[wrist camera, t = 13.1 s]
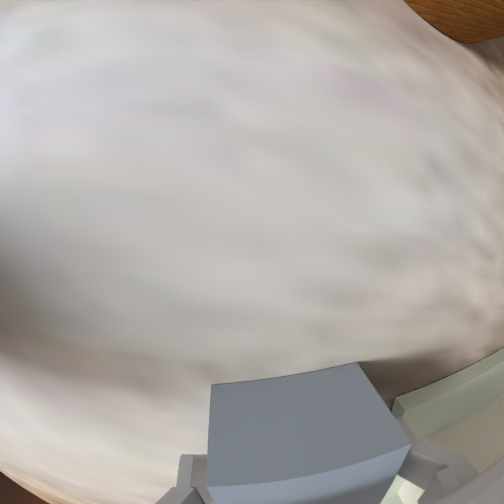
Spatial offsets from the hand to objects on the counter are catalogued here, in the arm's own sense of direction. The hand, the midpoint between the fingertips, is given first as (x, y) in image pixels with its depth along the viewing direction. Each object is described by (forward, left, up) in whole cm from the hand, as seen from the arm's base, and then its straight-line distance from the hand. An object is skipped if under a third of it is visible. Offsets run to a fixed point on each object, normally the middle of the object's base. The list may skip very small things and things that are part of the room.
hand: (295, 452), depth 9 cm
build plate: (+7, +11, -2) cm, 13 cm away
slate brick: (0, 0, -2) cm, 2 cm away
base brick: (+7, +11, -1) cm, 13 cm away
